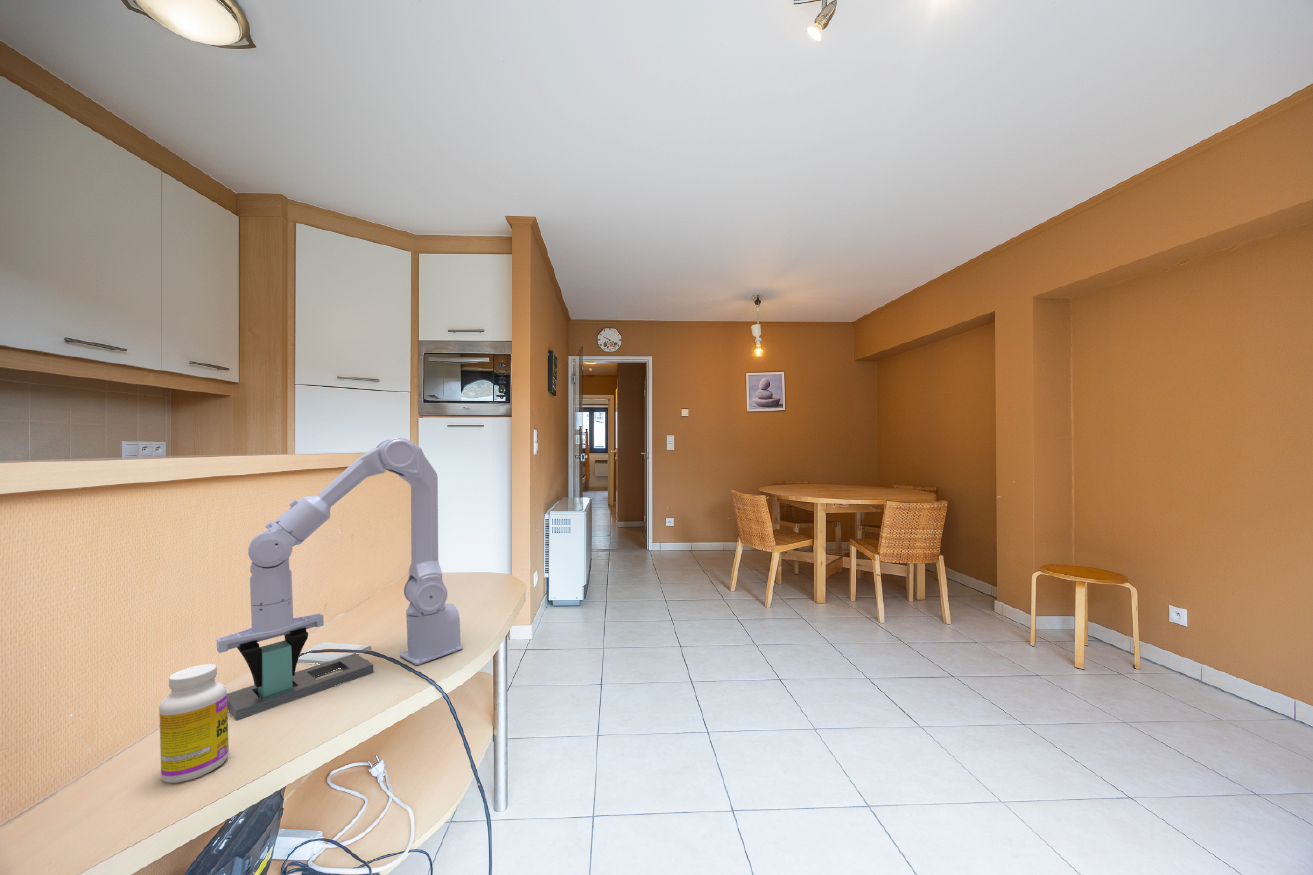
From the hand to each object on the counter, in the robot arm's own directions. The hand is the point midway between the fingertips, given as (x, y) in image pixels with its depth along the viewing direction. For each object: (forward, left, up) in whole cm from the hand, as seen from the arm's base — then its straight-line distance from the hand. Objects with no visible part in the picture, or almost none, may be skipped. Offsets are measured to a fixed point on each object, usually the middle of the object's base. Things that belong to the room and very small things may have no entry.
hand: (274, 679), depth 86 cm
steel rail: (-4, 0, -3) cm, 5 cm away
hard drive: (-12, -12, -4) cm, 17 cm away
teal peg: (0, 0, -2) cm, 2 cm away
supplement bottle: (+12, +16, -3) cm, 20 cm away
